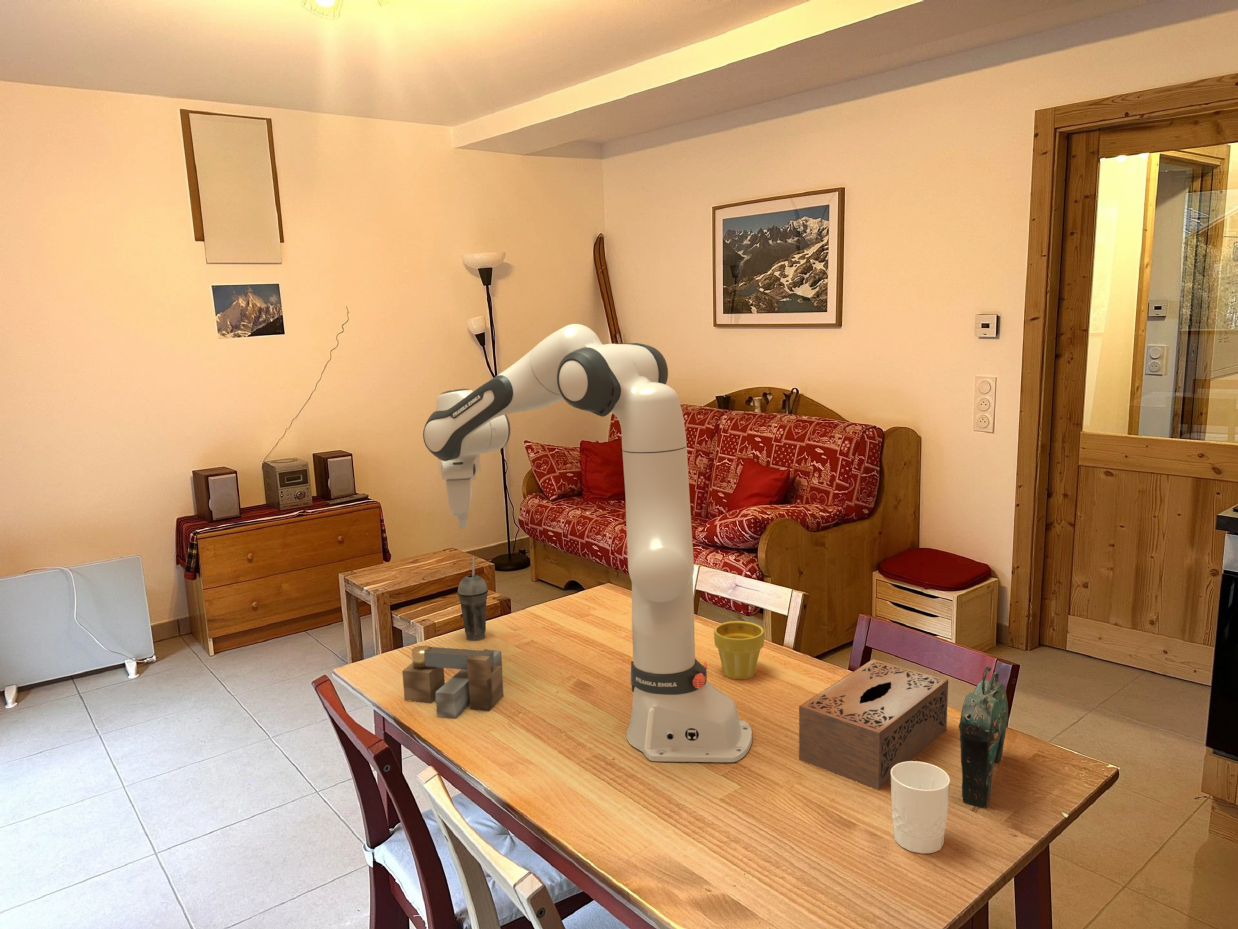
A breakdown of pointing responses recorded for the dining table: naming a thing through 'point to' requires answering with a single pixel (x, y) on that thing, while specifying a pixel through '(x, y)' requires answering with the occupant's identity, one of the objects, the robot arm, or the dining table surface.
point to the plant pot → (739, 647)
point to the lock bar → (445, 657)
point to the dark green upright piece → (982, 738)
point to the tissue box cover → (872, 721)
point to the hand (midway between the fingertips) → (463, 526)
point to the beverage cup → (473, 605)
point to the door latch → (457, 686)
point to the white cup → (919, 805)
